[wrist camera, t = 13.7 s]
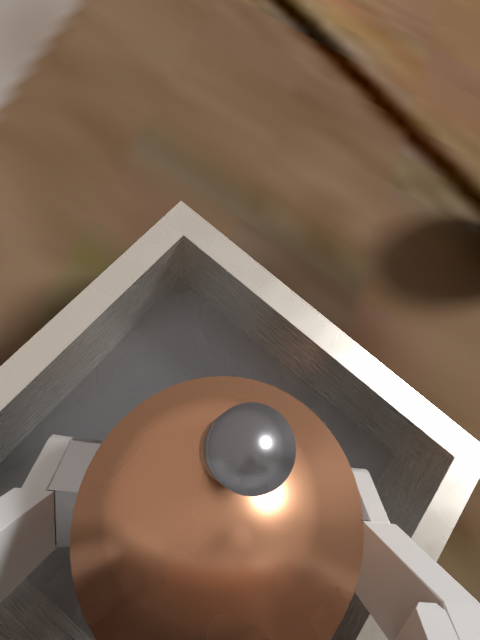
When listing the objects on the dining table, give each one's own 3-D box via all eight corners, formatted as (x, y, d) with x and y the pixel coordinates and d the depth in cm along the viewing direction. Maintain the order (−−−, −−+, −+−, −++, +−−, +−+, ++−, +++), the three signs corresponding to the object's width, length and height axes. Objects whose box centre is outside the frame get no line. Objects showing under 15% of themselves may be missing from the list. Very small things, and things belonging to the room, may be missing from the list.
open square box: (177, 244, 21) (178, 168, 15) (426, 448, 20) (527, 448, 14) (-101, 512, 16) (-256, 547, 10) (215, 814, 14) (240, 1049, 9)
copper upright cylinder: (260, 569, 14) (441, 817, 5) (112, 558, 13) (-35, 814, 4) (272, 421, 16) (423, 376, 6) (140, 405, 15) (82, 328, 6)
